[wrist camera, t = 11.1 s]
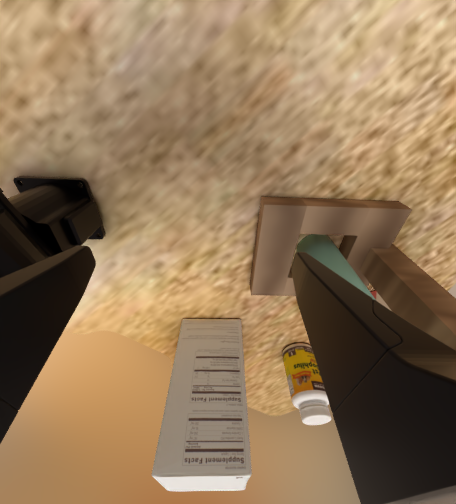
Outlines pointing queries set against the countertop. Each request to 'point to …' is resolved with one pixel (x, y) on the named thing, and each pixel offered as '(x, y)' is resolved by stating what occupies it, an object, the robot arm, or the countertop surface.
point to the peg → (331, 258)
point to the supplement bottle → (306, 384)
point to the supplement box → (205, 411)
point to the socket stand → (352, 256)
